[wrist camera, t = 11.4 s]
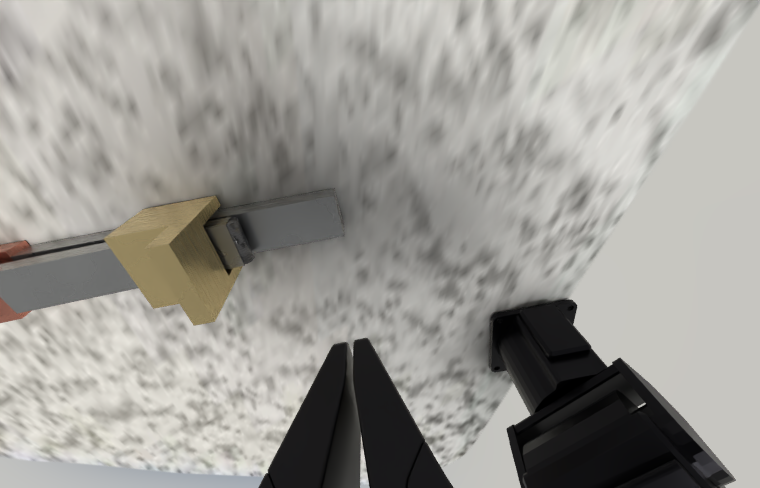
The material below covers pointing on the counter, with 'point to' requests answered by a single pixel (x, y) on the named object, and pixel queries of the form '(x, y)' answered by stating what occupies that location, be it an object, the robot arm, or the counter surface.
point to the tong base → (258, 221)
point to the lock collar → (175, 258)
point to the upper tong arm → (94, 272)
